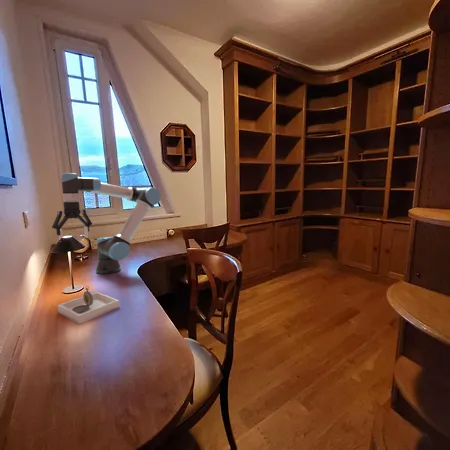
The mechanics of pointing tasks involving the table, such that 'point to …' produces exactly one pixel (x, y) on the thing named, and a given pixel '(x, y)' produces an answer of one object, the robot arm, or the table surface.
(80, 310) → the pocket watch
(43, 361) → the table surface
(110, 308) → the tray
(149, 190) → the robot arm
